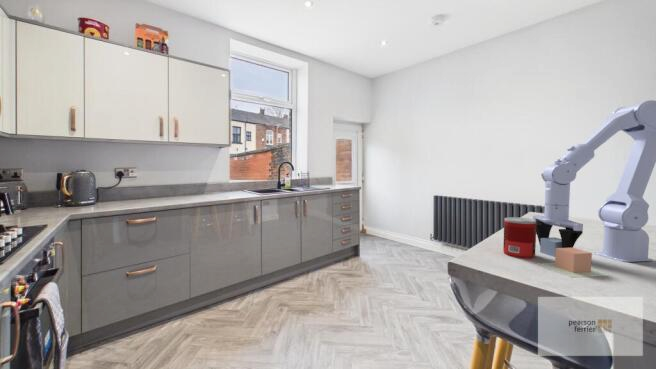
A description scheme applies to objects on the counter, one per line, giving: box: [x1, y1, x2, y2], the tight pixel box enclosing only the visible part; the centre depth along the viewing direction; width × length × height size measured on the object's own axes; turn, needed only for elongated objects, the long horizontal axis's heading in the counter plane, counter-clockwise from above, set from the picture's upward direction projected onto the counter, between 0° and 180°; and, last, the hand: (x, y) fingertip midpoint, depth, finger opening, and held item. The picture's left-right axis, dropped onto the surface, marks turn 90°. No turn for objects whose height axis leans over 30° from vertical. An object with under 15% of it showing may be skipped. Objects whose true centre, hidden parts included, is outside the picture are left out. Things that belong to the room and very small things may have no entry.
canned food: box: [502, 216, 537, 259], centre depth 86 cm, size 8×8×11 cm
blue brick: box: [539, 236, 562, 258], centre depth 87 cm, size 5×5×5 cm
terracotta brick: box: [554, 246, 593, 273], centre depth 74 cm, size 5×5×5 cm
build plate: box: [536, 262, 612, 278], centre depth 74 cm, size 11×10×1 cm
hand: (554, 249), depth 87 cm, fingers open, 7 cm apart
